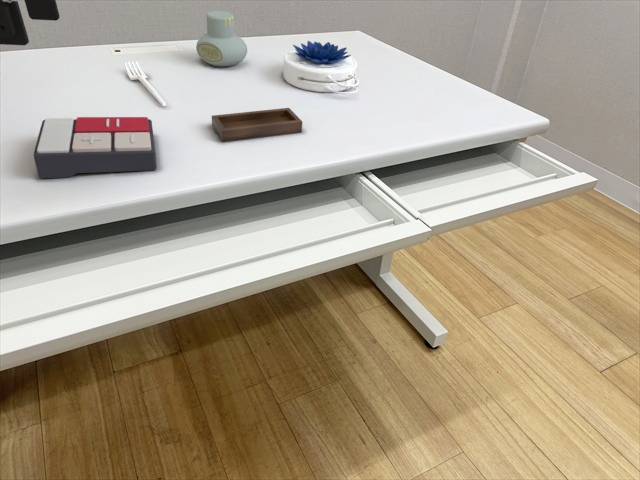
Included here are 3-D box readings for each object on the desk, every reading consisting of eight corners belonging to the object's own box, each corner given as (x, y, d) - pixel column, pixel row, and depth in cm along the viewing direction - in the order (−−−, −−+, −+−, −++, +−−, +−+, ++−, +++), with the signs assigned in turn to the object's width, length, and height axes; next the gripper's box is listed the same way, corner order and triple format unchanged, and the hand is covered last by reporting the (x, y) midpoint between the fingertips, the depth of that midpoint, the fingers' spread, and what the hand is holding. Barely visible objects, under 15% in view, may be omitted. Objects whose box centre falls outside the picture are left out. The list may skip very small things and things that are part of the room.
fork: (156, 109, 83) (154, 99, 82) (123, 71, 96) (122, 62, 95) (174, 106, 85) (173, 96, 84) (140, 70, 97) (138, 60, 96)
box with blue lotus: (271, 37, 100) (320, 69, 87) (333, 33, 107) (386, 61, 94) (270, 70, 104) (316, 105, 91) (330, 64, 111) (381, 95, 98)
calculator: (155, 147, 65) (31, 149, 60) (157, 174, 68) (38, 179, 63) (151, 114, 73) (41, 114, 68) (153, 139, 76) (47, 141, 71)
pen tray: (222, 142, 76) (221, 130, 75) (212, 126, 80) (211, 115, 79) (301, 132, 81) (302, 121, 80) (288, 118, 85) (289, 107, 84)
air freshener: (190, 61, 104) (186, 12, 98) (215, 52, 110) (213, 6, 104) (230, 73, 100) (229, 23, 94) (253, 64, 106) (253, 16, 100)
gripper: (-31, -176, 47) (22, 10, 58) (-143, -192, 34) (-47, 54, 44) (49, -168, 48) (87, 13, 59) (-29, -180, 35) (38, 57, 45)
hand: (29, 30), depth 52 cm, fingers open, 9 cm apart
